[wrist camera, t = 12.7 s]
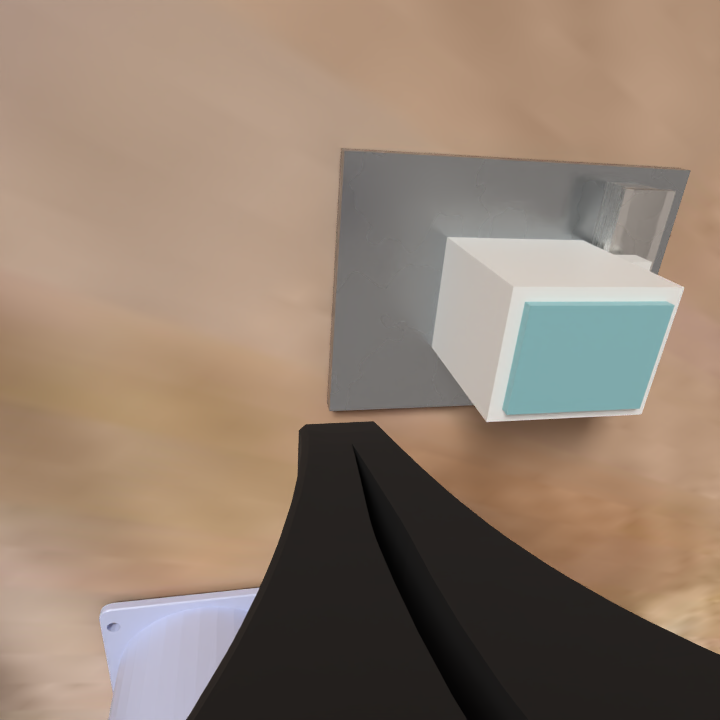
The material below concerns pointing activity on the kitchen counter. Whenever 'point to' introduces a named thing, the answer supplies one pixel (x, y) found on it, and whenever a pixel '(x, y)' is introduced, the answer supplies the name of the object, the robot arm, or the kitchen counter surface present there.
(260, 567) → the kitchen counter surface
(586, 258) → the block
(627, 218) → the rail
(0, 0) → the kitchen counter surface
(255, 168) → the kitchen counter surface
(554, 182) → the plate
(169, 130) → the kitchen counter surface
